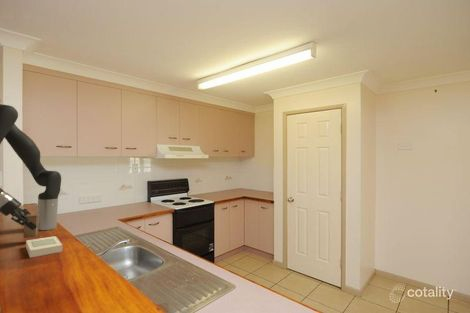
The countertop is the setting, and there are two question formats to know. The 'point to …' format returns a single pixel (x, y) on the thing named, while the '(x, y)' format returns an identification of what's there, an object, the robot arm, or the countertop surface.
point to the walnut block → (35, 220)
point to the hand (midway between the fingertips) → (36, 227)
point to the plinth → (43, 246)
